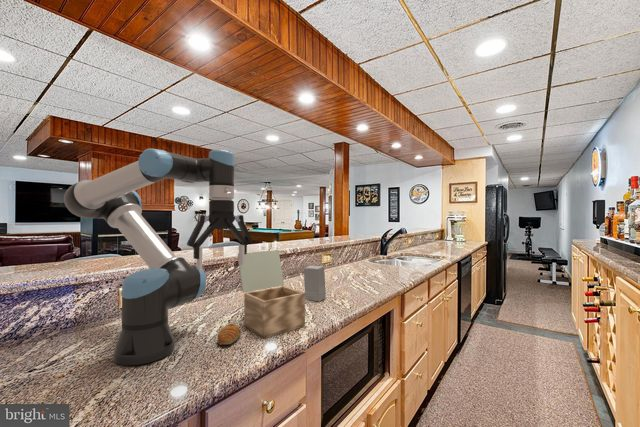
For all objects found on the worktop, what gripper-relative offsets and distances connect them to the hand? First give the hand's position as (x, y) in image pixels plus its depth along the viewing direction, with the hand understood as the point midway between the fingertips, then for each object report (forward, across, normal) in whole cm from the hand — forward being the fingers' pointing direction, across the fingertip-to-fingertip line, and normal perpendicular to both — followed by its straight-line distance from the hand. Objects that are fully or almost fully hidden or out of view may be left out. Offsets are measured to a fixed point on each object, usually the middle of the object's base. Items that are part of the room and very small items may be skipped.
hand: (221, 267), depth 94 cm
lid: (+12, +20, +8) cm, 25 cm away
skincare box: (+24, +53, +18) cm, 61 cm away
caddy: (+24, +20, +1) cm, 31 cm away
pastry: (+25, -1, 0) cm, 25 cm away
